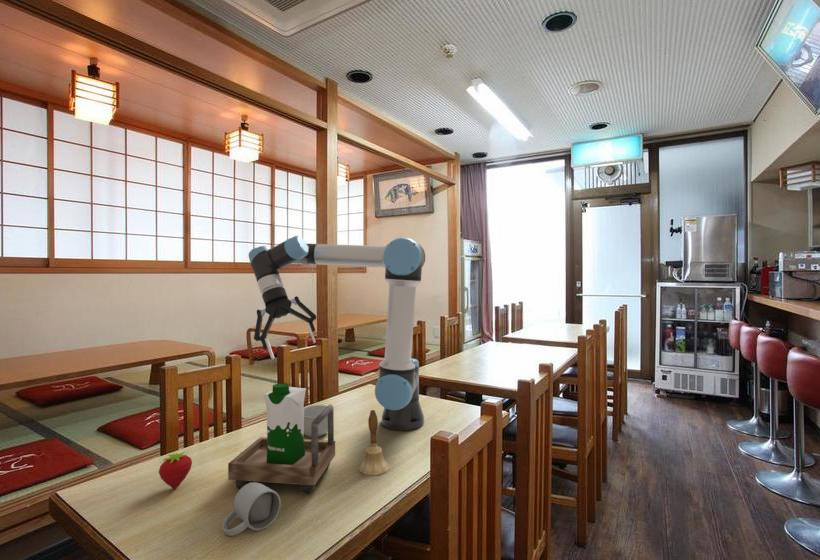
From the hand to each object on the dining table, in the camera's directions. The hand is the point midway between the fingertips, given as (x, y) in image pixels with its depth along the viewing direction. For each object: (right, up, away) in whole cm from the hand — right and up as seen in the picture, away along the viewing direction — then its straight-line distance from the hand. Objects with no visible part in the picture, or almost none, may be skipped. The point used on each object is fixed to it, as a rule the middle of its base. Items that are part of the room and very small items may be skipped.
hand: (294, 350), depth 129 cm
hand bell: (+27, -29, -18) cm, 44 cm away
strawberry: (-22, -30, -28) cm, 46 cm away
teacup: (+4, -29, +6) cm, 30 cm away
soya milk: (+5, -25, -23) cm, 34 cm away
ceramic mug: (+3, -30, -43) cm, 52 cm away
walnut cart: (+4, -29, -23) cm, 38 cm away
